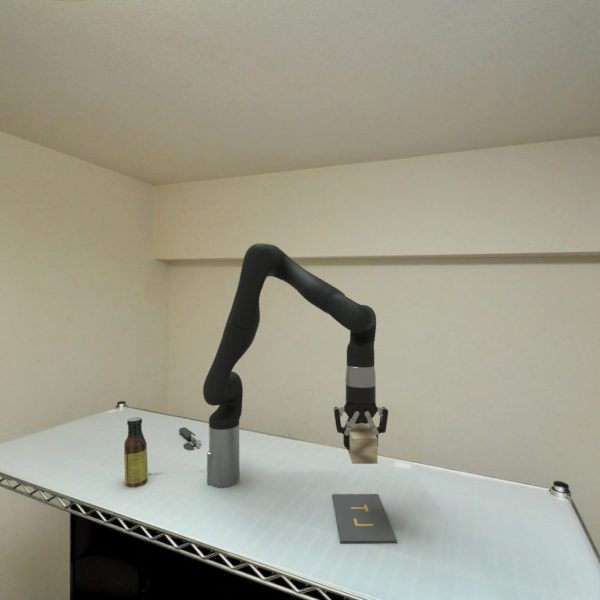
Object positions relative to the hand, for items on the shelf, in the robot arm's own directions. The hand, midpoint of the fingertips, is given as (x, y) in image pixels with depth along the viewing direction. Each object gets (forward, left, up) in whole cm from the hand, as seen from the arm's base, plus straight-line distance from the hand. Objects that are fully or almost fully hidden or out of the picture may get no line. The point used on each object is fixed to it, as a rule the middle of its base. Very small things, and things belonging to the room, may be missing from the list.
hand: (360, 448), depth 92 cm
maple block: (0, 0, -1) cm, 1 cm away
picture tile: (0, 0, -17) cm, 17 cm away
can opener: (-58, +47, -18) cm, 77 cm away
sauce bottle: (-65, +17, -18) cm, 69 cm away
